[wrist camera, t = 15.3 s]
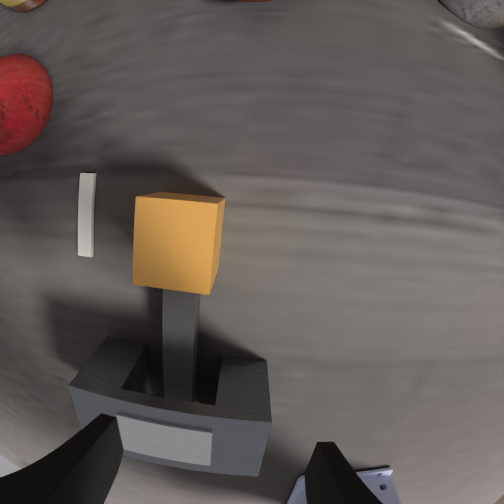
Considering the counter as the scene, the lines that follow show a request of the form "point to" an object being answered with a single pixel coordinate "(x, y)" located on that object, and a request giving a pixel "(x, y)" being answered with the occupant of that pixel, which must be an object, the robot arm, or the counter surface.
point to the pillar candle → (478, 12)
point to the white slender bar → (86, 214)
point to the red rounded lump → (22, 101)
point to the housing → (178, 412)
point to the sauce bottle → (22, 4)
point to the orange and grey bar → (178, 273)
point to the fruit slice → (255, 0)
